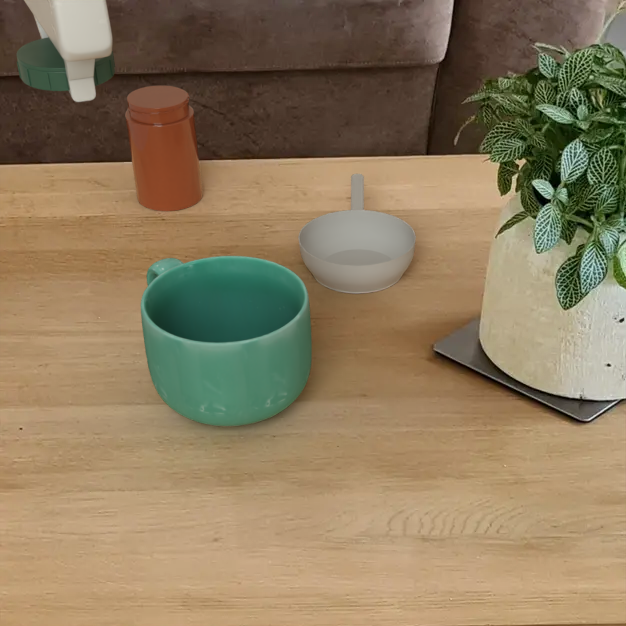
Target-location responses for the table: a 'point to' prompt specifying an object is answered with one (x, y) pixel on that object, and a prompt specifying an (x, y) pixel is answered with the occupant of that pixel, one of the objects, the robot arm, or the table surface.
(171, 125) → the jam jar
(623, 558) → the table surface
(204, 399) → the mug
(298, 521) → the table surface
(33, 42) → the jar lid
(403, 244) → the small pan
